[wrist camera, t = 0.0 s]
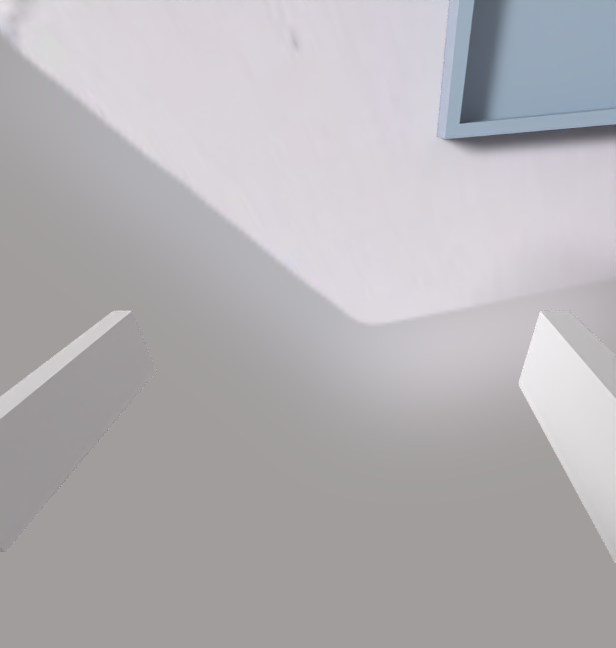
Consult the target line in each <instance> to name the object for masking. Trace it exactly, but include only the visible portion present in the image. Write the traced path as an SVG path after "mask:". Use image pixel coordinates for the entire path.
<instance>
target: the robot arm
mask: <svg viewBox="0 0 616 648" xmlns="http://www.w3.org/2000/svg"><path fill="white" fill-rule="evenodd" d="M156 372H157V371H156V369H155V366H154V363H153V361H152V358H151V356H150V354H149V351H148V349H147V347H146V344H145V341H144V339H143V337H142V334H141V331H140V329H139V326H138V324H137V322H136V319H135V317H134V314H133V311H113V312H111V313H110V314H109V315H108V316H106V317H105V318H103V319H102V320H101V321H99V322H98V323H97V324H95V325H94V326H93V327H91V328H90V329H89V330H87V331H86V332H85V333H84V334H82V335H81V336H80V337H78V338H77V339H76V340H74V341H73V342H72V343H70V344H69V345H68V346H66V347H65V348H64V349H62V350H61V351H60V352H59V353H57V354H56V355H55V356H53V357H52V358H51V359H49V360H48V361H47V362H45V363H44V364H43V365H41V366H40V367H39V368H38V369H36V370H35V371H34V372H32V373H31V374H30V375H28V376H27V377H26V378H24V379H23V380H22V381H20V382H19V383H18V384H16V385H15V386H14V387H12V388H11V389H10V390H9V391H7V392H6V393H5V394H3V395H2V396H1V397H0V551H1V552H6V551H7V549H8V548H9V547H10V546H11V545H12V544H13V542H14V541H15V540H16V539H17V538H18V536H19V535H20V534H21V533H22V532H23V531H24V529H25V528H26V527H27V526H28V525H29V523H30V522H31V521H32V520H33V519H34V517H35V516H36V515H37V514H38V513H39V511H40V510H41V509H42V508H43V507H44V505H45V504H46V503H47V502H48V500H49V499H50V498H51V497H52V496H53V495H54V494H55V492H56V491H57V490H58V489H59V487H60V486H61V485H62V484H63V483H64V482H65V480H66V479H67V478H68V477H69V476H70V474H71V473H72V472H73V471H74V470H75V468H76V467H77V466H78V464H79V463H80V462H81V461H82V460H83V459H84V458H85V456H86V455H87V454H88V453H89V452H90V450H91V449H92V448H93V447H94V446H95V445H96V443H97V442H98V441H99V440H100V438H101V437H102V436H103V435H104V434H105V433H106V431H107V430H108V429H109V428H110V427H111V425H112V424H113V423H114V422H115V421H116V419H117V418H118V417H119V416H120V414H121V413H122V412H123V411H124V410H125V409H126V408H127V406H128V405H129V404H130V403H131V402H132V400H133V399H134V398H135V397H136V395H137V394H138V393H139V392H140V391H141V390H142V388H143V387H144V386H145V385H146V383H147V382H148V381H149V380H150V379H151V378H152V376H153V375H154V374H155V373H156ZM518 385H519V387H520V388H521V390H522V392H523V394H524V396H525V398H526V399H527V401H528V403H529V405H530V407H531V409H532V410H533V412H534V414H535V416H536V418H537V420H538V422H539V423H540V425H541V427H542V429H543V431H544V433H545V434H546V436H547V438H548V440H549V442H550V444H551V446H552V447H553V449H554V451H555V453H556V455H557V457H558V459H559V460H560V462H561V464H562V466H563V468H564V470H565V471H566V473H567V475H568V477H569V479H570V480H571V483H572V484H573V486H574V488H575V490H576V492H577V494H578V496H579V497H580V499H581V501H582V503H583V505H584V507H585V508H586V510H587V512H588V514H589V516H590V517H591V519H592V521H593V523H594V525H595V527H596V529H597V531H598V532H599V534H600V536H601V538H602V540H603V541H604V544H605V545H606V547H607V549H608V551H609V553H610V554H611V556H612V558H613V560H614V562H615V564H616V355H615V354H614V353H613V352H612V351H611V350H610V349H609V348H607V346H606V345H605V344H603V342H601V340H599V339H598V338H597V337H596V336H595V335H594V334H593V333H592V332H591V331H590V330H589V329H588V328H587V327H586V326H585V325H584V324H583V323H582V322H581V321H580V320H579V319H578V318H577V317H576V316H575V315H574V314H573V313H572V312H571V311H540V313H539V317H538V320H537V323H536V327H535V330H534V334H533V337H532V340H531V343H530V347H529V350H528V353H527V357H526V360H525V363H524V367H523V370H522V373H521V377H520V380H519V384H518Z"/></svg>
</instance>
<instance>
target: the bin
mask: <svg viewBox="0 0 616 648" xmlns="http://www.w3.org/2000/svg"><path fill="white" fill-rule="evenodd" d="M612 124H616V0H449V10H448V21H447V32H446V43H445V54H444V65H443V75H442V86H441V97H440V108H439V119H438V130H437V137H440V138H443V139H453V138H464V137H475V136H487V135H498V134H510V133H521V132H532V131H544V130H555V129H566V128H578V127H589V126H601V125H612Z"/></svg>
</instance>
